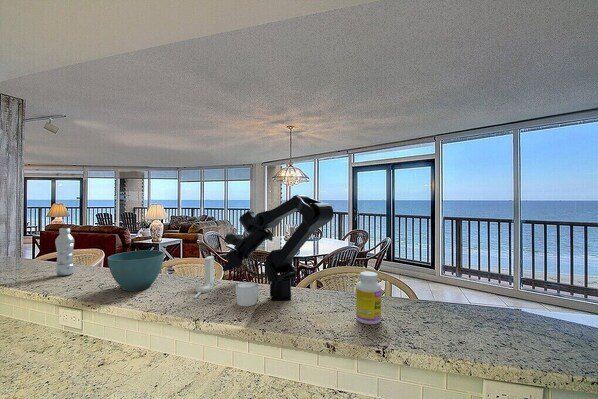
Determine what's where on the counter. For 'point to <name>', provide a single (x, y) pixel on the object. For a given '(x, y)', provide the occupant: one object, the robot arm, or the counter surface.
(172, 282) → the counter surface
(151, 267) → the teal bowl
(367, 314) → the supplement bottle
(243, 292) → the white cup
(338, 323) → the counter surface
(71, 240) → the plastic bottle
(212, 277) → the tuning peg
